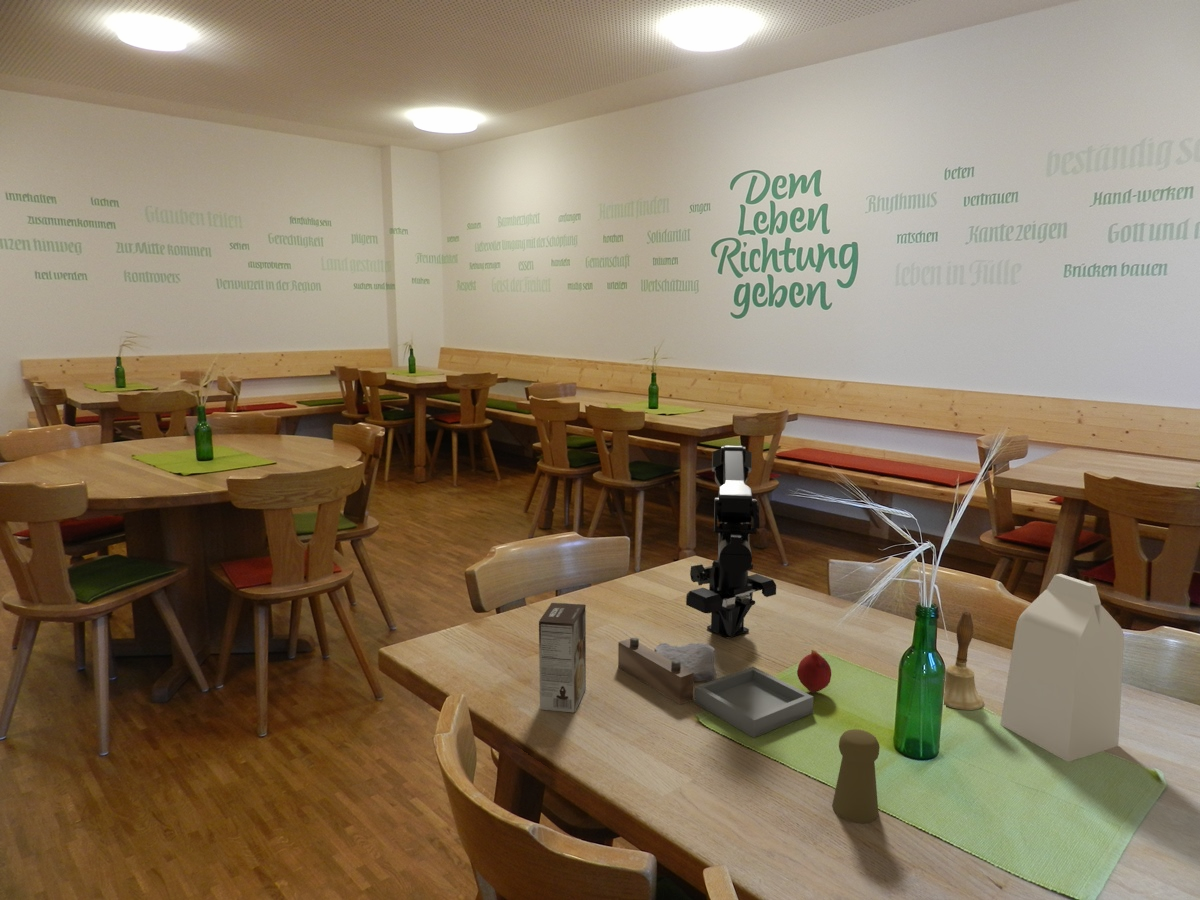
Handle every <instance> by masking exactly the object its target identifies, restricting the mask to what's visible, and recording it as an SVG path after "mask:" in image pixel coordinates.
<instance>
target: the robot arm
mask: <svg viewBox="0 0 1200 900" xmlns="http://www.w3.org/2000/svg"><path fill="white" fill-rule="evenodd" d="M752 453H753V452H751V451H750V450H747V449H746V446H743V445H723V446H721V448H719V449H716V450H714V451H712V457H711V458H712V459H711V460H712V461H711V472H714V481H715V483H716V485H717V487H718V494H717V495H718V496H717V497H714V508H713V509H714V512H713V514H714V515H713V516H714V517H713V518H714V519H713V522H714V523H713V524H714V526H713V528H714V529H713V532H714V533H715V534H717V533H718V546H717V547H718V548H717V549H718V550H717V551H718V552H717V553H718V554H717V559H716V560H713V562H712V564H711V565H709V566H706V567H705V566H704V565H703V564H695V565H691V566H690V571H689V572H690V573H689V575H690V580H691V582H692V583H697V584H698V586H702V585H706V584H709V585H708V588H705V587H701V588H700V587H699V588H695V589H693V590H692V589H691V590H689V592H687V593H686V598H685V601H686V602H685V605H686V606H688V607H690V608H692V609H694V610H697V611H699V612H701V613H703V614H711V619H710V621H711V622H710V625H707V626H706V629H707V630H709V631H711V632H714V633H715V634H718V635H719V636H721V637H724V638H726V639H729V638H733V637H735V636H740V635H742V634H745V633H749V631H750V628H747V627H745V626H744V625H745V624H744V623H745V618H746V615H747V614H748V613H749V611H750V610H751V608H752V607H753V606H755V605H756V600H754V599H753V595H754V594H753V593H754V592H759V591H761V594H762V595H763V596H764V597H765V598H768V597H772V596H775V595H777V584H776V583H775V581H774V579H772V578H769V577H766V576H764V575H761V574H758V573H754V574H751V575H749V571H751V570H753V569H754V563H752V562H753V554H752V549H751V546H750V545H751V544H750V535H757V529H760V507H759V506H760V505H759V504H758V500H757V499H756V498H753V491H752V488H751V487H750V486H748V485H747V481H748V477H749V473H751V472H752V469H753V467H752V466H753V454H752ZM718 523H719V524H718ZM751 524H752V525H751Z"/></svg>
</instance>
